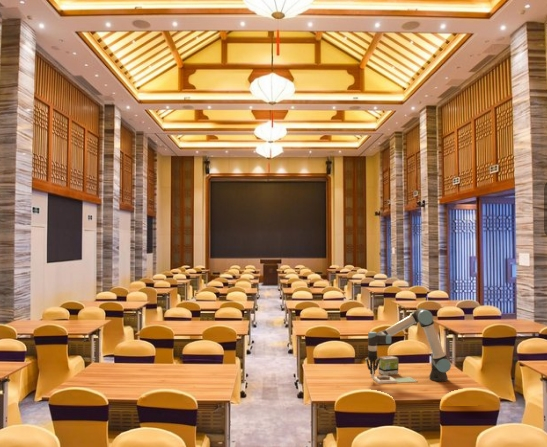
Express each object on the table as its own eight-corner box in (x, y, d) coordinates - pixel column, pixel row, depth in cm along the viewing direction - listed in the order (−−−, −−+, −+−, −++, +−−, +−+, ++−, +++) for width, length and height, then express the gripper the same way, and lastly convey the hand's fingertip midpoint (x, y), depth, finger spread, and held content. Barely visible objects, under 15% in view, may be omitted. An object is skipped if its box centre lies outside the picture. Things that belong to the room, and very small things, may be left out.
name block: (386, 377, 419) (386, 375, 420) (389, 379, 414) (389, 377, 414) (377, 377, 418) (377, 375, 418) (379, 379, 412) (379, 377, 412)
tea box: (384, 375, 432) (384, 359, 433) (378, 373, 441) (378, 356, 442) (398, 374, 438) (398, 357, 438) (392, 371, 447) (392, 355, 448)
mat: (410, 377, 427) (410, 377, 427) (417, 381, 413) (417, 381, 413) (391, 378, 424) (391, 377, 424) (397, 382, 410) (397, 382, 410)
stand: (390, 378, 424) (390, 376, 424) (396, 382, 410) (396, 380, 410) (372, 379, 421) (372, 376, 421) (378, 383, 408) (378, 381, 408)
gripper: (378, 349, 420) (378, 376, 419) (363, 349, 418) (363, 377, 417) (381, 351, 413) (381, 378, 412) (366, 351, 410) (367, 379, 409)
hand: (372, 377), depth 414 cm, fingers closed
